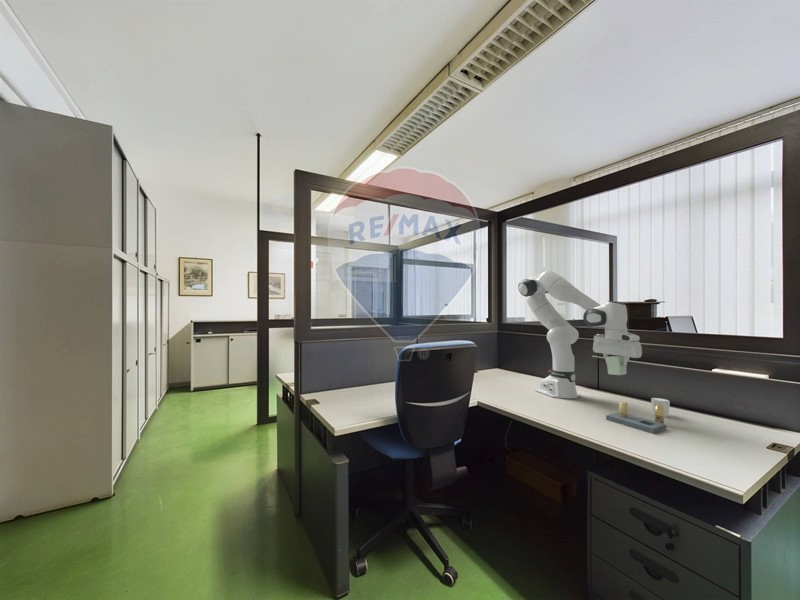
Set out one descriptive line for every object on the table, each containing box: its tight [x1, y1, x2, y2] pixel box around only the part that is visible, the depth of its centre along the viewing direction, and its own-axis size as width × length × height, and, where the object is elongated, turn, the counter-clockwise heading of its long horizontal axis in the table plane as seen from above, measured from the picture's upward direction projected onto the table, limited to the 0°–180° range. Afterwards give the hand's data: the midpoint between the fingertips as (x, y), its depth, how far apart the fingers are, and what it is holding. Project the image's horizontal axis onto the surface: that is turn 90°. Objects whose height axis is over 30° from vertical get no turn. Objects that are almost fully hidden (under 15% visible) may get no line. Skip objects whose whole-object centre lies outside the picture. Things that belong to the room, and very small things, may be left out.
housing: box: [606, 355, 628, 376], centre depth 152 cm, size 5×5×8 cm
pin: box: [654, 405, 665, 424], centre depth 137 cm, size 3×3×8 cm
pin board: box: [605, 401, 667, 435], centre depth 137 cm, size 18×10×8 cm, turn 28°
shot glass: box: [650, 397, 671, 418], centre depth 149 cm, size 7×7×7 cm
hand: (616, 364), depth 152 cm, fingers closed on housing, 6 cm apart
